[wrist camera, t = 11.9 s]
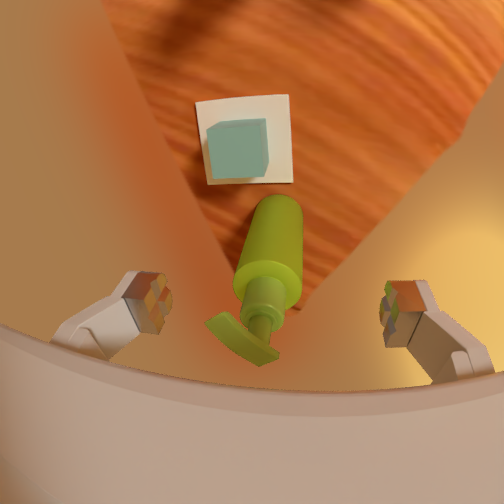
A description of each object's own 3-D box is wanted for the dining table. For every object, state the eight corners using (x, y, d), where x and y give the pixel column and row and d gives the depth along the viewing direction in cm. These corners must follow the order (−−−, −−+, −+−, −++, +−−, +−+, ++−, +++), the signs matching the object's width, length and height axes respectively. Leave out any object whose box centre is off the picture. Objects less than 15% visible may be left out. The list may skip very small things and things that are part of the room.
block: (219, 121, 29) (206, 129, 25) (265, 118, 28) (259, 125, 24) (225, 163, 32) (213, 179, 28) (269, 161, 31) (264, 176, 27)
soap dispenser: (274, 178, 32) (243, 304, 16) (312, 220, 34) (315, 362, 18) (238, 207, 35) (184, 338, 19) (276, 245, 37) (253, 384, 21)
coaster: (196, 102, 28) (195, 102, 28) (288, 94, 26) (288, 94, 26) (208, 183, 34) (207, 185, 33) (293, 181, 32) (293, 182, 32)
